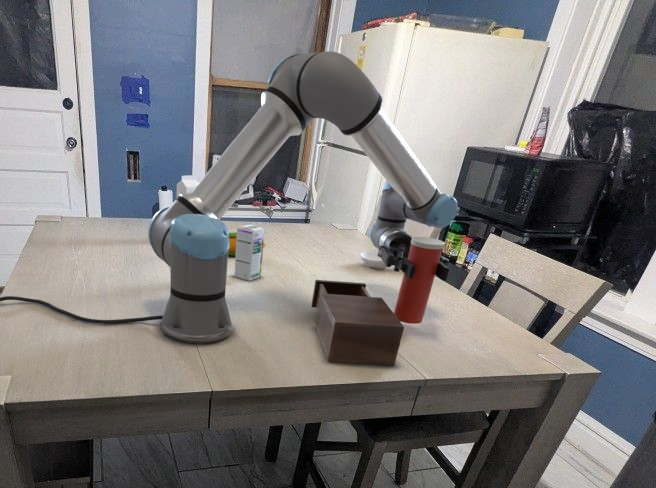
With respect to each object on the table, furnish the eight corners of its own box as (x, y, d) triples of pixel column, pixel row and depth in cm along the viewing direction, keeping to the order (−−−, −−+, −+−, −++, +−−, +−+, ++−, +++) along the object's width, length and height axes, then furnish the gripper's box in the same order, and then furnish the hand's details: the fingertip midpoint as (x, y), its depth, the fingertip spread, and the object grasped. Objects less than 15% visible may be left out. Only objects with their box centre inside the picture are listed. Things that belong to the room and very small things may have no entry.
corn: (206, 228, 160) (263, 229, 165) (204, 251, 164) (260, 251, 169) (211, 235, 154) (270, 236, 159) (209, 258, 158) (267, 258, 163)
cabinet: (315, 328, 112) (321, 293, 108) (373, 332, 112) (381, 297, 108) (327, 361, 98) (335, 322, 93) (394, 366, 98) (404, 326, 94)
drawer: (308, 299, 126) (312, 274, 123) (355, 302, 127) (361, 277, 124) (320, 330, 109) (325, 301, 106) (374, 333, 110) (381, 305, 106)
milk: (175, 239, 175) (176, 174, 165) (189, 238, 179) (190, 173, 168) (185, 243, 171) (186, 176, 161) (199, 241, 175) (201, 176, 164)
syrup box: (249, 281, 139) (254, 230, 132) (233, 276, 142) (237, 225, 135) (260, 277, 143) (265, 227, 136) (244, 272, 146) (248, 223, 139)
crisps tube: (401, 324, 111) (421, 244, 102) (387, 312, 117) (406, 236, 108) (428, 324, 112) (451, 245, 103) (413, 312, 118) (434, 237, 109)
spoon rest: (367, 271, 157) (372, 249, 153) (352, 261, 167) (356, 240, 163) (432, 272, 162) (438, 250, 158) (414, 262, 172) (419, 241, 168)
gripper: (431, 263, 126) (468, 293, 106) (357, 258, 126) (380, 287, 105) (439, 234, 122) (479, 259, 102) (362, 228, 122) (388, 252, 102)
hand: (429, 273), depth 104 cm, fingers closed on crisps tube, 7 cm apart
